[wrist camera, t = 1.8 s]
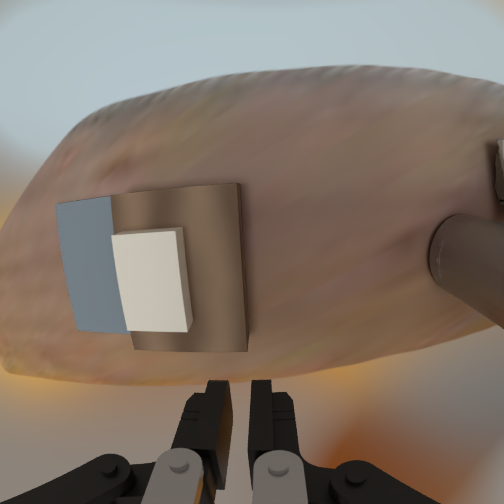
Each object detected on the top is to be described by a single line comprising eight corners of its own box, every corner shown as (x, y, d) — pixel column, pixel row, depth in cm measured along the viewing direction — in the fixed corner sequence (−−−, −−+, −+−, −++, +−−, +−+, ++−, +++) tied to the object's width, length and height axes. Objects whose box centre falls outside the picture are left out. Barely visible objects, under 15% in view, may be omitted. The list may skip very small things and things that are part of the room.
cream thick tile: (182, 227, 26) (175, 230, 24) (193, 321, 28) (187, 332, 26) (122, 231, 27) (111, 235, 24) (136, 320, 28) (127, 330, 26)
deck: (239, 183, 29) (236, 183, 25) (248, 333, 33) (247, 351, 29) (127, 193, 30) (110, 195, 26) (146, 333, 33) (134, 349, 29)
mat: (123, 194, 30) (121, 194, 29) (142, 333, 33) (141, 334, 33) (57, 204, 30) (55, 204, 30) (79, 329, 34) (77, 330, 33)
